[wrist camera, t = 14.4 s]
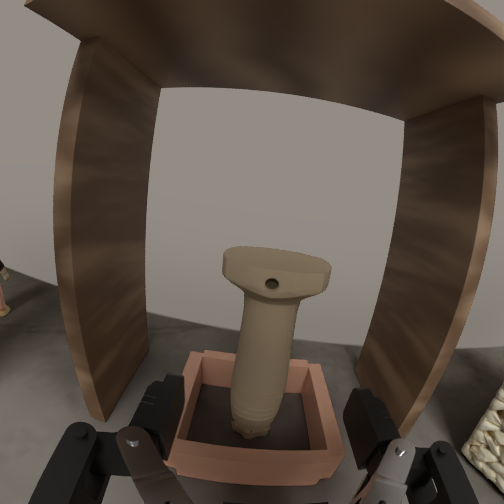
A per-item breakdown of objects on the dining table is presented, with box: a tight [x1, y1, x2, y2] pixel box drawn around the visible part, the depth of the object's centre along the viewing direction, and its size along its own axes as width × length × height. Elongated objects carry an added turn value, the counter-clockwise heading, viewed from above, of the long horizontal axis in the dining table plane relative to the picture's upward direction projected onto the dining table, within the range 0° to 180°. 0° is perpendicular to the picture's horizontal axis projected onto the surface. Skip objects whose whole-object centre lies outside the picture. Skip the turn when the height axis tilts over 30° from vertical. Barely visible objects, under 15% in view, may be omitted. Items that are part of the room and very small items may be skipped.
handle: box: [222, 246, 331, 439], centre depth 18 cm, size 5×6×15 cm
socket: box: [163, 350, 346, 486], centre depth 20 cm, size 12×12×4 cm
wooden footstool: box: [24, 0, 504, 439], centre depth 17 cm, size 27×18×30 cm, turn 88°
